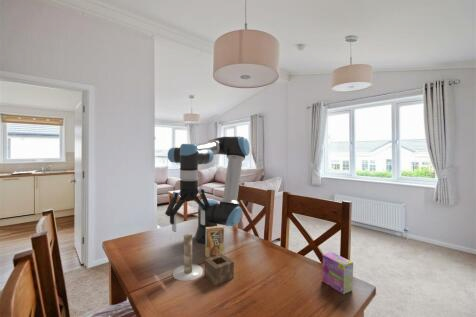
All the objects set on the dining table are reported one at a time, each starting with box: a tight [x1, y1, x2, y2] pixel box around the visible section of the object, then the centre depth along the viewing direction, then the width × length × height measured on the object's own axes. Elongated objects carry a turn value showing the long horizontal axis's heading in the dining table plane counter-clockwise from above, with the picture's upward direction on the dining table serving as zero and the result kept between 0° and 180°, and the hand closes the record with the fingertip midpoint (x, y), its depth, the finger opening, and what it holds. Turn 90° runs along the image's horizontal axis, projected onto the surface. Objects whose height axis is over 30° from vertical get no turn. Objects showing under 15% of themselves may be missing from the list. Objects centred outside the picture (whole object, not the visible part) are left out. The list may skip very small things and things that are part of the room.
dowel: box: [183, 233, 193, 274], centre depth 99 cm, size 4×4×16 cm
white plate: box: [172, 263, 204, 282], centre depth 99 cm, size 13×13×1 cm
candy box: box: [204, 225, 225, 258], centre depth 115 cm, size 9×4×15 cm, turn 110°
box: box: [321, 251, 354, 295], centre depth 93 cm, size 10×6×12 cm, turn 29°
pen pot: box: [203, 253, 235, 287], centre depth 96 cm, size 9×9×8 cm
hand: (189, 227), depth 98 cm, fingers open, 13 cm apart
